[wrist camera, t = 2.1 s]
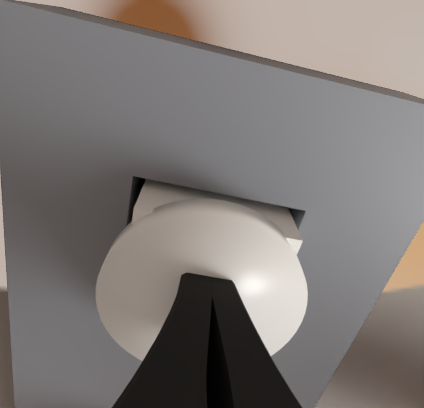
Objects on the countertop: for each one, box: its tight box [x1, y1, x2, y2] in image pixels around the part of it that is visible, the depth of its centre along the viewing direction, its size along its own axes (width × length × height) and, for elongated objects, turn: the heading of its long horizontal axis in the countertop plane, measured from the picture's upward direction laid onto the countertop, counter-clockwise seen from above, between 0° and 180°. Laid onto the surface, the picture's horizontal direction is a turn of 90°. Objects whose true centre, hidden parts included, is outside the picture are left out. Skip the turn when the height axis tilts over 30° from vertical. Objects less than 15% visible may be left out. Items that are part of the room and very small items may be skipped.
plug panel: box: [0, 0, 424, 408], centre depth 15 cm, size 12×24×4 cm, turn 167°
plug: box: [96, 179, 308, 361], centre depth 11 cm, size 6×6×5 cm
